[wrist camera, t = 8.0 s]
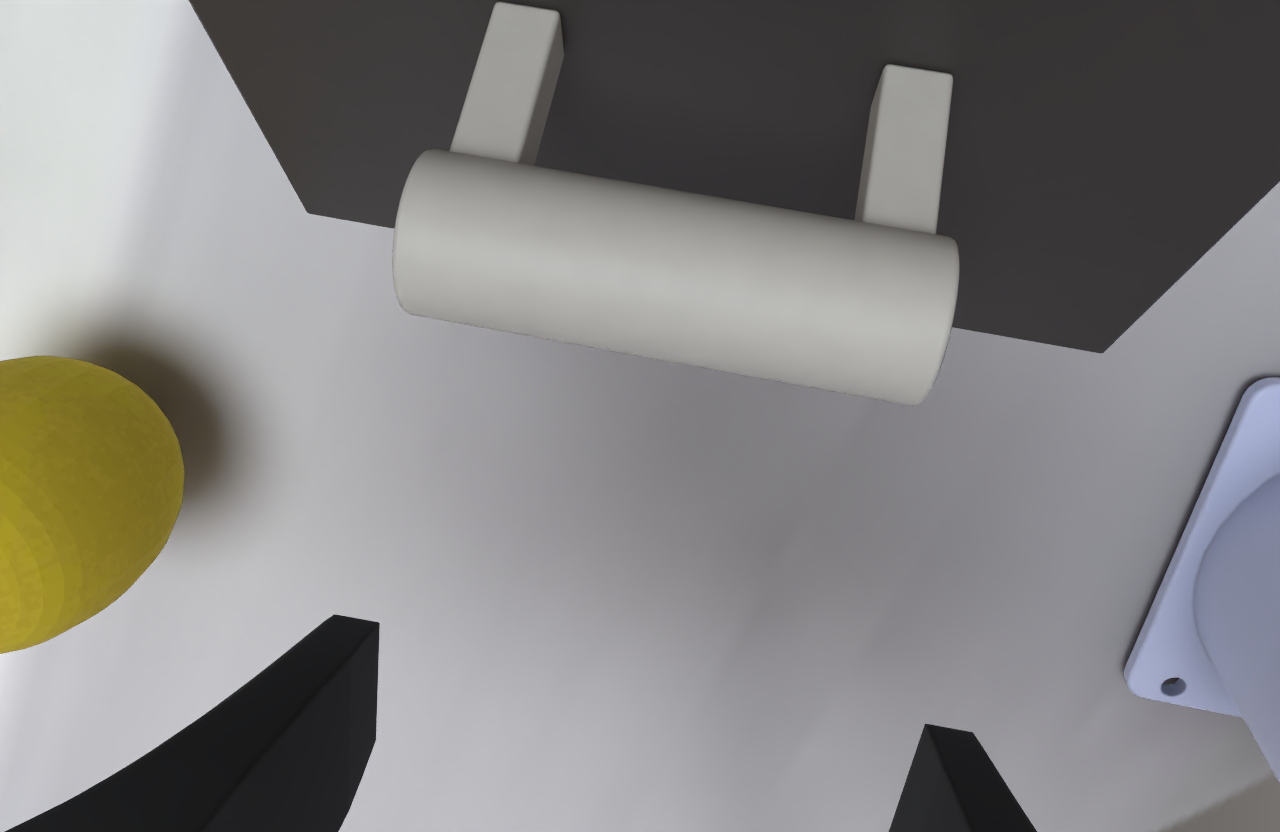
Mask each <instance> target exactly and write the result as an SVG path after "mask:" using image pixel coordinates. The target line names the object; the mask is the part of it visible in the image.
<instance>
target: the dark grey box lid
mask: <svg viewBox="0 0 1280 832" xmlns="http://www.w3.org/2000/svg"><path fill="white" fill-rule="evenodd" d="M189 2H190V3H191V5H192V7H193V9H194V11H195V12H196V14H197V16H198V18H199V20H200V21H201V23H202V25H203V27H204V29H205V30H206V32H207V34H208V36H209V37H210V39H211V41H212V43H213V45H214V46H215V48H216V50H217V52H218V54H219V55H220V57H221V59H222V61H223V63H224V64H225V66H226V68H227V70H228V71H229V73H230V75H231V77H232V79H233V80H234V82H235V84H236V86H237V88H238V89H239V91H240V93H241V95H242V97H243V98H244V100H245V102H246V104H247V105H248V107H249V109H250V111H251V113H252V114H253V116H254V118H255V120H256V122H257V123H258V125H259V127H260V129H261V131H262V132H263V134H264V136H265V138H266V139H267V141H268V143H269V145H270V147H271V148H272V150H273V152H274V154H275V156H276V157H277V159H278V161H279V163H280V165H281V166H282V168H283V170H284V172H285V173H286V175H287V177H288V179H289V181H290V182H291V184H292V186H293V188H294V190H295V191H296V193H297V195H298V197H299V199H300V200H301V202H302V204H303V206H304V207H305V209H306V211H307V212H308V213H310V214H315V215H320V216H326V217H332V218H337V219H343V220H349V221H354V222H360V223H366V224H371V225H377V226H383V227H388V228H394V229H395V230H394V239H393V259H392V263H393V279H394V287H395V292H396V296H397V299H398V302H399V304H400V306H401V307H402V309H403V310H404V311H406V312H407V313H409V314H411V315H416V316H422V317H427V318H433V319H438V320H444V321H449V322H455V323H460V324H466V325H471V326H477V327H482V328H488V329H493V330H499V331H504V332H510V333H515V334H521V335H526V336H532V337H537V338H543V339H548V340H554V341H559V342H565V343H570V344H576V345H581V346H587V347H592V348H598V349H603V350H609V351H614V352H620V353H625V354H631V355H636V356H642V357H647V358H653V359H658V360H664V361H669V362H675V363H680V364H686V365H691V366H697V367H702V368H708V369H713V370H719V371H724V372H730V373H735V374H741V375H746V376H752V377H757V378H763V379H768V380H774V381H779V382H785V383H790V384H796V385H801V386H807V387H812V388H818V389H823V390H828V391H834V392H839V393H845V394H850V395H856V396H861V397H867V398H872V399H878V400H883V401H889V402H894V403H900V404H905V405H911V406H914V405H919V404H921V403H922V402H923V401H924V400H925V399H926V397H927V396H928V394H929V392H930V391H931V389H932V387H933V385H934V383H935V380H936V378H937V376H938V373H939V370H940V367H941V365H942V362H943V358H944V355H945V352H946V348H947V344H948V341H949V337H950V332H951V328H952V327H955V328H960V329H966V330H972V331H977V332H983V333H989V334H994V335H1000V336H1006V337H1011V338H1017V339H1023V340H1028V341H1034V342H1040V343H1045V344H1051V345H1057V346H1062V347H1068V348H1074V349H1079V350H1085V351H1090V352H1096V353H1103V352H1104V351H1105V350H1107V349H1108V348H1109V347H1110V346H1111V345H1112V344H1113V343H1114V342H1115V341H1116V340H1117V339H1118V338H1119V337H1120V336H1121V335H1122V334H1123V333H1124V332H1125V331H1126V330H1127V329H1128V328H1129V327H1130V326H1131V325H1132V324H1133V323H1134V322H1135V321H1136V320H1137V319H1138V318H1139V317H1140V316H1142V315H1143V314H1144V313H1145V312H1146V311H1147V310H1148V309H1149V308H1150V307H1151V306H1152V305H1153V304H1154V303H1155V302H1156V301H1157V300H1158V299H1159V298H1160V297H1161V296H1162V295H1163V294H1164V293H1165V292H1166V291H1167V290H1168V289H1169V288H1170V287H1171V286H1172V285H1173V284H1174V283H1175V282H1177V281H1178V280H1179V279H1180V278H1181V277H1182V276H1183V275H1184V274H1185V273H1186V272H1187V271H1188V270H1189V269H1190V268H1191V267H1192V266H1193V265H1194V264H1195V263H1196V262H1197V261H1198V260H1199V259H1200V258H1201V257H1202V256H1203V255H1204V254H1205V253H1206V252H1207V251H1208V250H1209V249H1210V248H1212V247H1213V246H1214V245H1215V244H1216V243H1217V242H1218V241H1219V240H1220V239H1221V238H1222V237H1223V236H1224V235H1225V234H1226V233H1227V232H1228V231H1229V230H1230V229H1231V228H1232V227H1233V226H1234V225H1235V224H1236V223H1237V222H1238V221H1239V220H1240V219H1241V218H1242V217H1243V216H1244V215H1245V214H1246V213H1248V212H1249V211H1250V210H1251V209H1252V208H1253V207H1254V206H1255V205H1256V204H1257V203H1258V202H1259V201H1260V200H1261V199H1262V198H1263V197H1264V196H1265V195H1266V194H1267V193H1268V192H1269V191H1270V190H1271V189H1272V188H1273V187H1274V186H1275V185H1276V184H1277V183H1278V182H1279V181H1280V0H189Z"/></svg>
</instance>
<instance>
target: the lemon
mask: <svg viewBox="0 0 1280 832" xmlns="http://www.w3.org/2000/svg"><path fill="white" fill-rule="evenodd" d="M183 488H184V464H183V459H182V454H181V449H180V445H179V441H178V439H177V437H176V435H175V433H174V430H173V428H172V426H171V424H170V422H169V420H168V419H167V417H166V416H165V415H164V413H163V412H162V411H161V409H160V408H159V407H158V405H157V404H156V403H155V401H154V400H153V399H151V398H150V397H149V396H148V395H147V394H146V393H145V392H144V391H143V390H142V389H140V388H139V387H138V386H137V385H136V384H134V383H132V382H131V381H129V380H127V379H126V378H124V377H122V376H121V375H119V374H117V373H116V372H113V371H111V370H109V369H106V368H103V367H101V366H98V365H95V364H92V363H89V362H87V361H83V360H77V359H70V358H62V357H54V356H32V357H25V358H18V359H11V360H4V361H0V654H2V653H7V652H12V651H16V650H21V649H25V648H28V647H31V646H34V645H38V644H40V643H43V642H45V641H47V640H49V639H52V638H54V637H56V636H58V635H59V634H61V633H63V632H65V631H67V630H69V629H71V628H72V627H74V626H76V625H78V624H80V623H82V622H83V621H85V620H87V619H89V618H91V617H92V616H94V615H95V614H97V613H99V612H100V611H102V610H103V609H105V608H106V607H107V606H109V605H110V604H112V603H113V602H114V601H116V600H117V599H118V598H119V597H120V596H121V595H123V594H124V593H125V592H126V591H127V590H128V589H129V588H130V587H131V586H132V585H133V584H134V583H135V582H136V580H137V579H138V578H139V577H140V576H141V575H142V574H143V573H144V571H145V570H146V569H147V568H148V567H149V566H150V565H151V564H152V562H153V561H154V560H155V559H156V557H157V556H158V555H159V553H160V552H161V550H162V549H163V547H164V545H165V544H166V542H167V540H168V538H169V536H170V533H171V531H172V529H173V526H174V524H175V521H176V519H177V516H178V514H179V511H180V508H181V504H182V500H183Z"/></svg>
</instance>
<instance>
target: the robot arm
mask: <svg viewBox="0 0 1280 832" xmlns="http://www.w3.org/2000/svg"><path fill="white" fill-rule="evenodd" d="M378 654H379V623H378V622H373V621H367V620H362V619H357V618H351V617H346V616H340V615H333V616H332V617H330V618H328V619H327V620H326V621H324V622H323V623H322V624H321V625H319V626H318V627H317V628H316V629H314V630H313V631H312V632H311V633H309V634H308V635H307V636H306V637H304V638H303V639H302V640H301V641H299V642H298V643H297V644H296V645H295V646H293V647H292V648H291V649H290V650H288V651H287V652H286V653H285V654H283V655H282V656H281V657H280V658H278V659H277V660H276V661H275V662H273V663H272V664H271V665H270V666H268V667H267V668H266V669H264V670H263V671H262V672H261V673H259V674H258V675H257V676H256V677H254V678H253V679H252V680H250V681H249V682H248V683H246V684H245V685H244V686H242V687H241V688H240V689H238V690H237V691H236V692H234V693H233V694H232V695H230V696H229V697H228V698H226V699H225V700H224V701H222V702H221V703H220V704H218V705H217V706H216V707H214V708H213V709H212V710H210V711H209V712H207V713H206V714H205V715H203V716H202V717H200V718H199V719H197V720H196V721H195V722H193V723H192V724H190V725H189V726H187V727H186V728H184V729H183V730H181V731H180V732H178V733H177V734H175V735H174V736H173V737H171V738H170V739H168V740H167V741H165V742H164V743H162V744H161V745H159V746H158V747H156V748H155V749H153V750H152V751H150V752H149V753H147V754H146V755H144V756H143V757H141V758H139V759H138V760H136V761H135V762H133V763H131V764H130V765H128V766H127V767H125V768H123V769H122V770H120V771H118V772H117V773H115V774H113V775H112V776H110V777H108V778H107V779H105V780H103V781H101V782H100V783H98V784H96V785H95V786H93V787H91V788H89V789H88V790H86V791H84V792H82V793H81V794H79V795H77V796H75V797H73V798H71V799H70V800H68V801H66V802H64V803H62V804H60V805H58V806H56V807H54V808H52V809H50V810H48V811H46V812H44V813H42V814H40V815H38V816H36V817H34V818H32V819H30V820H28V821H26V822H24V823H22V824H20V825H18V826H16V827H14V828H11V829H9V830H7V831H5V832H338V831H339V829H340V827H341V825H342V823H343V821H344V819H345V817H346V815H347V813H348V811H349V809H350V807H351V804H352V801H353V799H354V796H355V794H356V791H357V789H358V786H359V784H360V781H361V779H362V776H363V773H364V771H365V768H366V765H367V762H368V760H369V757H370V754H371V752H372V749H373V746H374V744H375V741H376V716H377V685H378ZM1124 678H1125V681H1126V683H1127V685H1128V688H1129V690H1130V691H1131V692H1132V693H1133V694H1134V695H1136V696H1139V697H1142V698H1145V699H1150V700H1155V701H1160V702H1166V703H1171V704H1176V705H1181V706H1186V707H1191V708H1196V709H1201V710H1206V711H1211V712H1216V713H1221V714H1226V715H1231V716H1236V717H1241V718H1243V719H1244V720H1245V722H1246V724H1247V726H1248V728H1249V729H1250V731H1251V733H1252V735H1253V737H1254V738H1255V740H1256V742H1257V744H1258V746H1259V747H1260V749H1261V751H1262V753H1263V755H1264V756H1265V758H1266V760H1267V762H1268V764H1269V765H1270V767H1271V769H1272V771H1273V773H1274V774H1275V776H1276V778H1277V780H1278V782H1279V783H1280V378H1279V377H1268V378H1265V379H1262V380H1259V381H1256V382H1255V383H1254V384H1252V385H1251V386H1250V387H1248V389H1247V390H1246V392H1245V393H1244V395H1243V396H1242V399H1241V401H1240V403H1239V406H1238V408H1237V410H1236V412H1235V415H1234V417H1233V419H1232V422H1231V424H1230V426H1229V429H1228V431H1227V433H1226V436H1225V438H1224V440H1223V442H1222V445H1221V447H1220V449H1219V452H1218V454H1217V456H1216V459H1215V461H1214V463H1213V466H1212V468H1211V470H1210V472H1209V475H1208V477H1207V479H1206V482H1205V484H1204V486H1203V489H1202V491H1201V493H1200V496H1199V498H1198V500H1197V502H1196V505H1195V507H1194V509H1193V512H1192V514H1191V516H1190V519H1189V521H1188V523H1187V526H1186V528H1185V530H1184V532H1183V535H1182V537H1181V539H1180V542H1179V544H1178V546H1177V549H1176V551H1175V553H1174V556H1173V558H1172V560H1171V562H1170V565H1169V567H1168V569H1167V572H1166V574H1165V576H1164V579H1163V581H1162V583H1161V586H1160V588H1159V590H1158V592H1157V595H1156V597H1155V599H1154V602H1153V604H1152V606H1151V609H1150V611H1149V613H1148V616H1147V618H1146V620H1145V622H1144V625H1143V627H1142V629H1141V632H1140V634H1139V636H1138V639H1137V641H1136V643H1135V646H1134V648H1133V650H1132V652H1131V655H1130V657H1129V659H1128V662H1127V664H1126V666H1125V669H1124ZM1169 678H1179V680H1178V681H1177V682H1175V683H1173V684H1171V685H1164V684H1162V683H1163V682H1164V681H1165V680H1167V679H1169ZM889 832H1037V831H1036V829H1035V828H1034V826H1033V825H1032V823H1031V822H1030V820H1029V819H1028V817H1027V816H1026V814H1025V813H1024V811H1023V810H1022V808H1021V806H1020V805H1019V803H1018V802H1017V800H1016V799H1015V797H1014V796H1013V794H1012V793H1011V791H1010V789H1009V788H1008V786H1007V785H1006V783H1005V782H1004V780H1003V778H1002V777H1001V775H1000V774H999V772H998V771H997V769H996V767H995V766H994V764H993V763H992V761H991V760H990V758H989V756H988V755H987V753H986V752H985V750H984V749H983V747H982V746H981V744H980V743H979V741H978V740H977V738H976V737H975V735H974V734H973V732H967V731H962V730H957V729H951V728H946V727H940V726H935V725H930V724H925V726H924V729H923V732H922V735H921V738H920V741H919V744H918V747H917V750H916V753H915V756H914V759H913V762H912V765H911V768H910V771H909V773H908V776H907V779H906V782H905V785H904V788H903V791H902V794H901V797H900V800H899V803H898V806H897V809H896V812H895V815H894V818H893V821H892V824H891V827H890V830H889Z"/></svg>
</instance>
